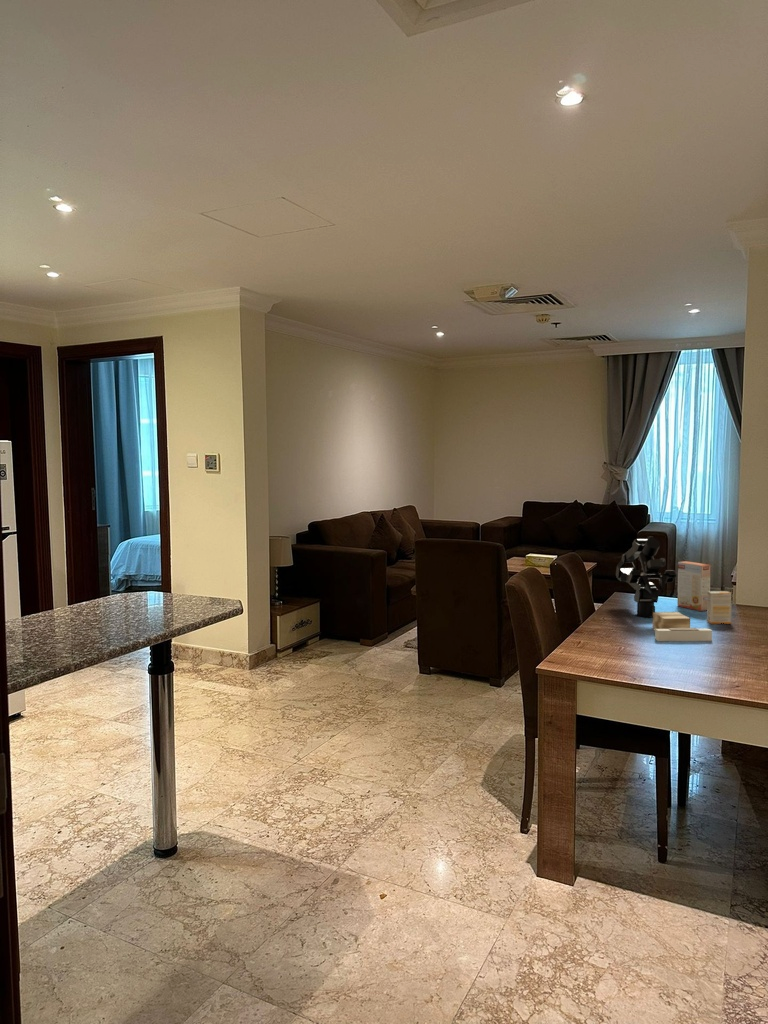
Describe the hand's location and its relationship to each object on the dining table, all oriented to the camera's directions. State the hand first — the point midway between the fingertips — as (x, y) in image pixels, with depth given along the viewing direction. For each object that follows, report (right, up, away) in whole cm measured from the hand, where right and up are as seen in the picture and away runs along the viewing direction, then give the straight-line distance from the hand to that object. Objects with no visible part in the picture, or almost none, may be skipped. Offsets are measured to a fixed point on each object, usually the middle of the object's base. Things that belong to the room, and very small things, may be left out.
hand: (657, 593), depth 297 cm
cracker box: (+28, -10, +29) cm, 41 cm away
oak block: (-1, -14, -16) cm, 21 cm away
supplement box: (+25, -12, -1) cm, 28 cm away
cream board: (-1, -15, -28) cm, 32 cm away
